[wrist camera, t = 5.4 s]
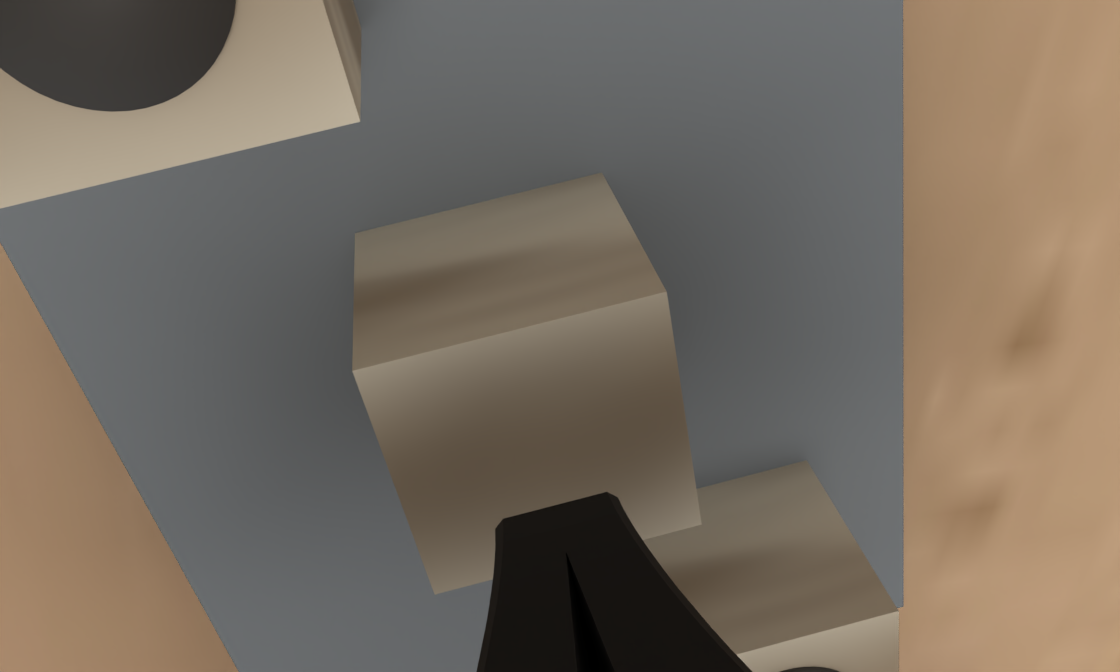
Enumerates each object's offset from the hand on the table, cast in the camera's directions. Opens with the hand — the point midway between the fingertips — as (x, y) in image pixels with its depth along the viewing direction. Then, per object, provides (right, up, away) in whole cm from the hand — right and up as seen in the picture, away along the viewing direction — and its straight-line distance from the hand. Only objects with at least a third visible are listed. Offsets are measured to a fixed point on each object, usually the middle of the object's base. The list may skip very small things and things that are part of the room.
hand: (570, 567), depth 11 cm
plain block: (-1, +3, +5) cm, 6 cm away
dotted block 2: (+3, -2, +9) cm, 10 cm away
